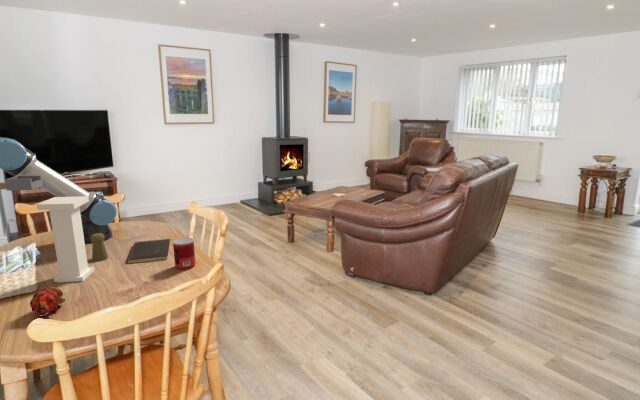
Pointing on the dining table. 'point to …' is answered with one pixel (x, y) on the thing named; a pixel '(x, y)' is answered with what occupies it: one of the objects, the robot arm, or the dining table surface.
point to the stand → (68, 237)
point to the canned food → (184, 253)
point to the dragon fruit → (47, 301)
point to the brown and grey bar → (22, 183)
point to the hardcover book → (149, 251)
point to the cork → (98, 247)
